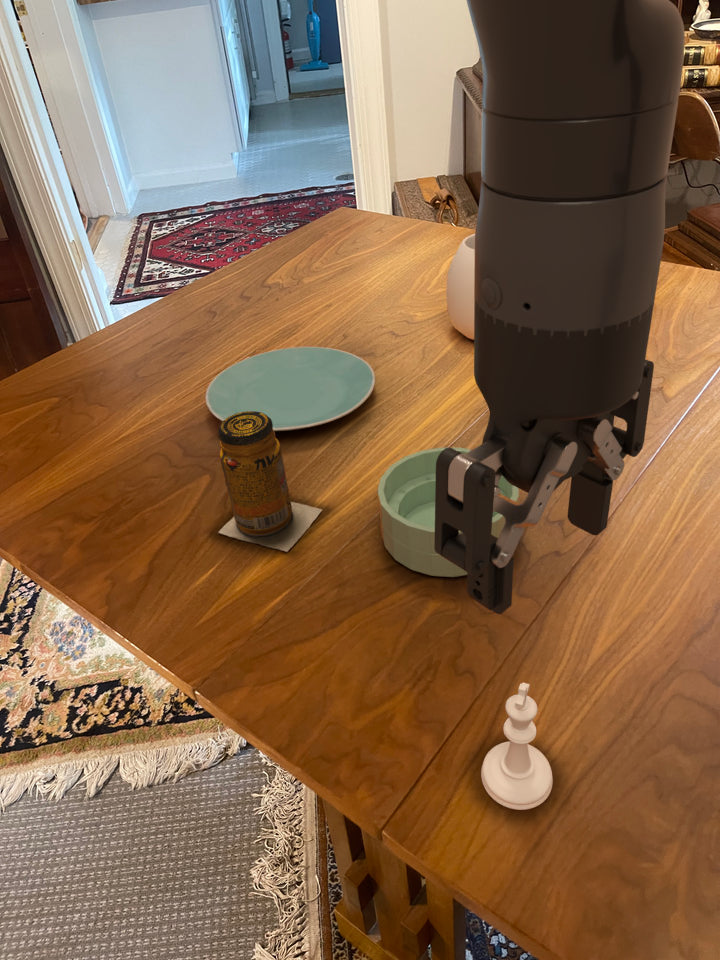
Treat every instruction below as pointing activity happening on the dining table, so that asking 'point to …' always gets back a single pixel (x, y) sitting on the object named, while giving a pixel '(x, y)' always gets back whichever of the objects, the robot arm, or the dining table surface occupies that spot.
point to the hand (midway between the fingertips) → (541, 563)
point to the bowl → (420, 512)
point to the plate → (293, 386)
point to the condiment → (259, 484)
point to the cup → (462, 288)
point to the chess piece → (518, 759)
